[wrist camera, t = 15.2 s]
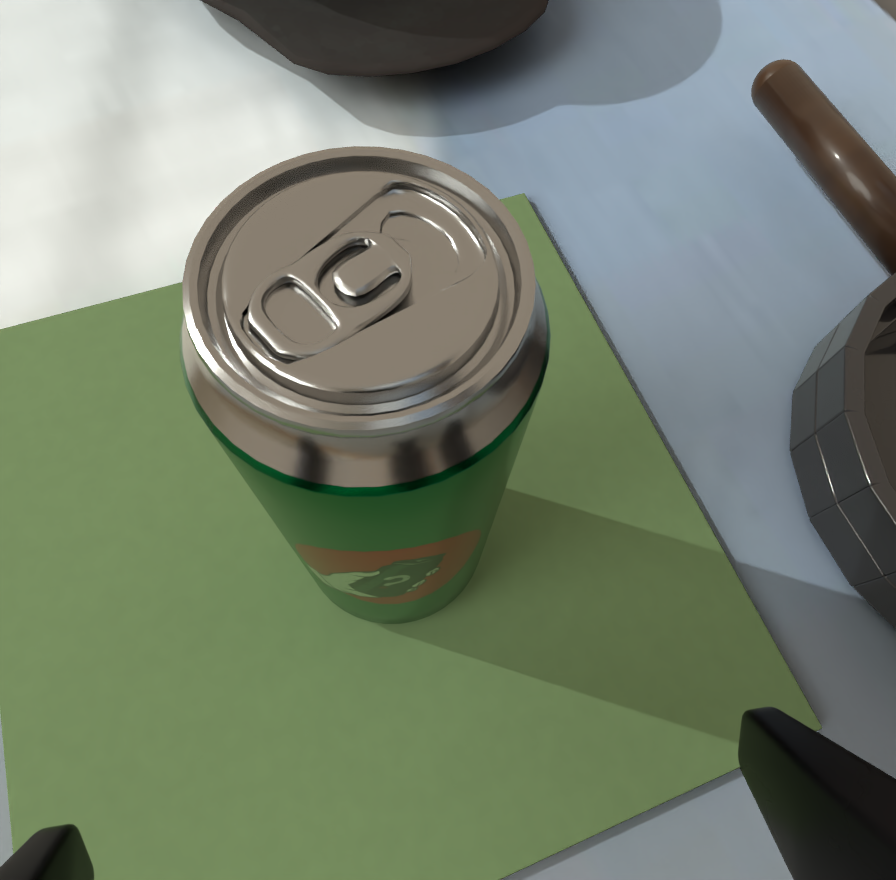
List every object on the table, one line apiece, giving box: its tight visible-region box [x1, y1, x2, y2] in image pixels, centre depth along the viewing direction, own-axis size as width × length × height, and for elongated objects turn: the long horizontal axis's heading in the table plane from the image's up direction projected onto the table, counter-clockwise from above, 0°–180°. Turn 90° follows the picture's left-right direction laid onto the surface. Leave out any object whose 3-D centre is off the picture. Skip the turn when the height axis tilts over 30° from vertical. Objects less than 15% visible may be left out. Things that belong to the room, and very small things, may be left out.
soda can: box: [179, 146, 551, 624], centre depth 13 cm, size 5×5×12 cm
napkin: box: [0, 193, 822, 880], centre depth 19 cm, size 20×20×1 cm
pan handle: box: [751, 59, 896, 276], centre depth 23 cm, size 11×2×2 cm, turn 21°
